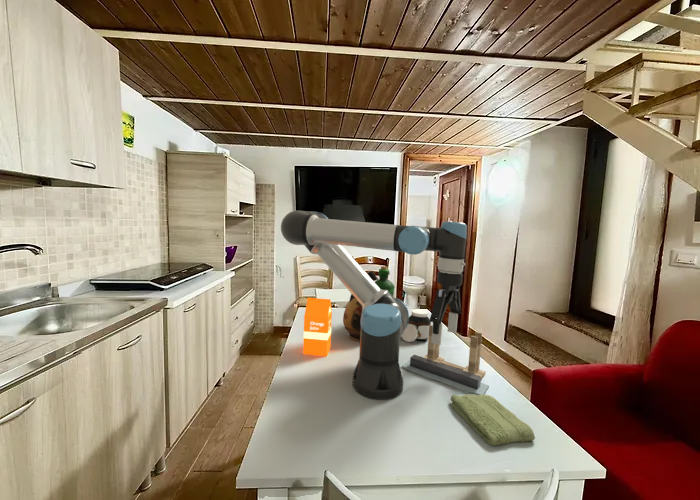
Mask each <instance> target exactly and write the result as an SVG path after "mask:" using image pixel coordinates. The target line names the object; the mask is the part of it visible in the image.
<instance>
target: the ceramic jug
mask: <svg viewBox="0 0 700 500" xmlns="http://www.w3.org/2000/svg"><path fill="white" fill-rule="evenodd" d="M361 268H362V269H363V270H364V271H365V269H364V268H363V267H361ZM366 273H367V274H368V275H369V277H370V278H371V279H372V280H373V281H374V282H375V281H377V280H378V279H379V277H378V276H377V275H376V274H375V273H374V272H373V271H368V272H366ZM361 315H362V305H361V304H360V303H359V302H358V300H357V299H356V298H355V297H354V296H353V295H352V293H350V297H349V301H348V303H347V304H346V307H345V308H344V311H343V317H342V323H343V327H344V329H345V331H347V333H348V338H349V339H352V340H353V341H355V342H357V341H358V342H360V331H361V323H360V321H361Z"/></svg>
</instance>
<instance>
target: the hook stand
mask: <svg viewBox="0 0 700 500" xmlns="http://www.w3.org/2000/svg"><path fill="white" fill-rule="evenodd" d="M432 326H433V324H431V325H429V338H428V339H427V340H428V343H427V354H425V356H422V357H423V358H426V359H430V360H433V361H436V362H439V363H442V364H445V365H448V366H451V367H454V368H457V369H460V370H463V371H466V372H469V373H472V374H475V375H478V376H481V381H482V380H483V378H484V377H485V376H486V373H487V372H486V370H482V369H480V362H481V352H482V351H481V349H482V339H483V332H479V331H475V332H474V335H470V341H469V343H470V344H469V357H468V365H466V366H462V365H459V364H456V363H455V364H454V363H452V362H449V361H446V360H445V358H444V357H441V356H440V346H441V345H437V344H434V343H431V338H432Z"/></svg>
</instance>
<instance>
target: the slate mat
mask: <svg viewBox="0 0 700 500" xmlns="http://www.w3.org/2000/svg"><path fill="white" fill-rule="evenodd" d="M401 368H402V369H404V370H407V371H410V372H412V373H414V374H415V373H416V374H418V375H421V376H423V377H426V378H429V379H432V380H434V381H438V382H439V383H442V384H444V385H448V386H451V387H454V388H456V389H459V390H461V391H464V392H467V393H470V394H473V395H486V392H487V391H488V390H489V388H490V385H489V384H485V383H484V382H483V383H482V382H481V383H480V387H479V388H478V390H476V389H474V388H471V387H468V386H465V385H462V384H459V383H457V382H454V381H451V380H448V379H445V378H443V377H440V376H437V375H434V374H431V373H429V372H426V371H423V370H420V369H417V368H414V367H412V366H410V360H408V361H406V362H405V363H404V364H402V365H401Z"/></svg>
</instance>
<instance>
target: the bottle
mask: <svg viewBox="0 0 700 500" xmlns="http://www.w3.org/2000/svg"><path fill="white" fill-rule="evenodd" d="M388 267H389V266H386V265H381V266H380V268H379V269H378V273H377V274H378V276H379V277H378V280H375V281H374V282H375V283H376V284H377V286H378V287H379V288H380V289H382V290H388V291H389V292H390V294H391V295H392V296H393V297H394V293H395V285H394V283H393V282H392V281H391V280H389V275H390V274H391V273H390V269H389V268H388Z"/></svg>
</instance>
